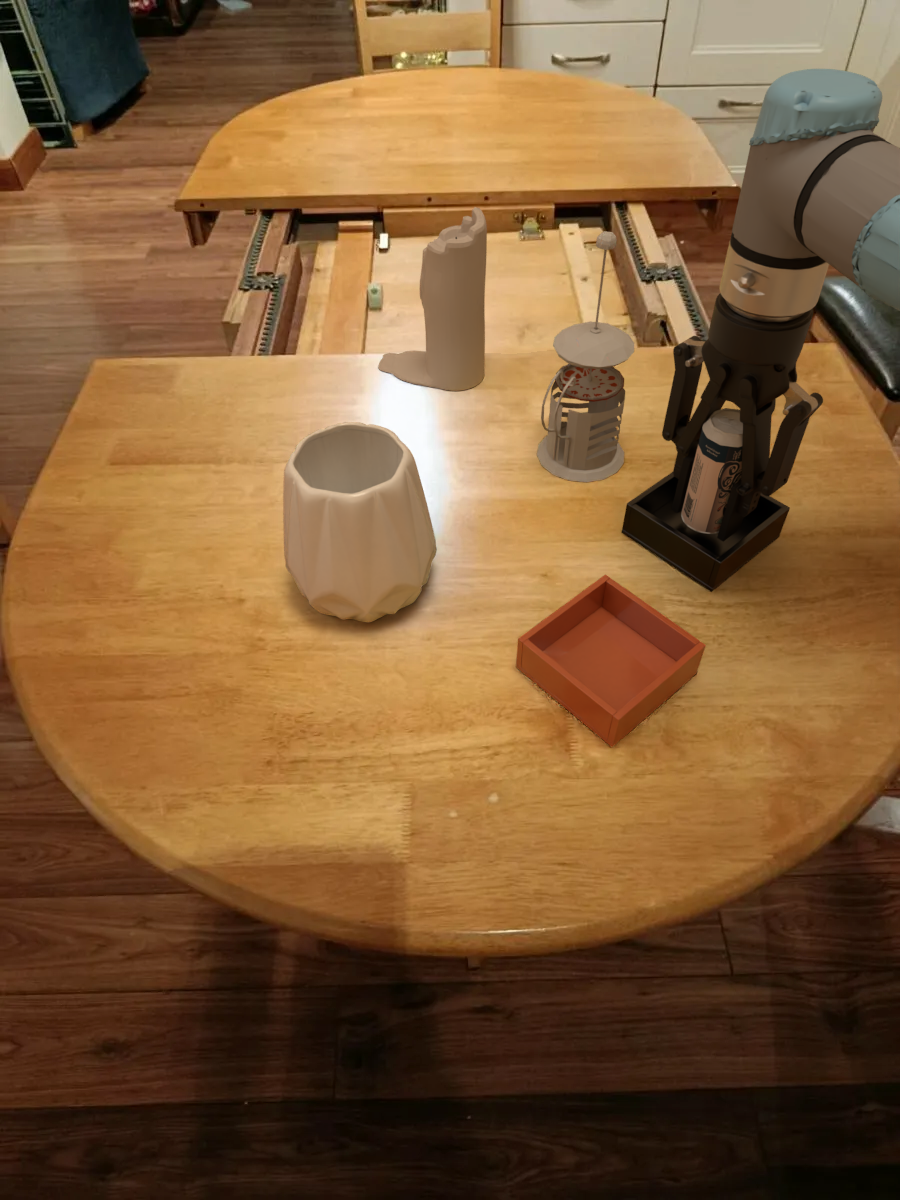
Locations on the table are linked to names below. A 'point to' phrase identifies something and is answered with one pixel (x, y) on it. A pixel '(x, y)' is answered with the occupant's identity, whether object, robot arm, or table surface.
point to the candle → (450, 311)
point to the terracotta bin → (609, 658)
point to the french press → (587, 397)
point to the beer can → (714, 471)
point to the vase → (356, 522)
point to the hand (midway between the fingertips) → (705, 518)
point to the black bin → (699, 535)
